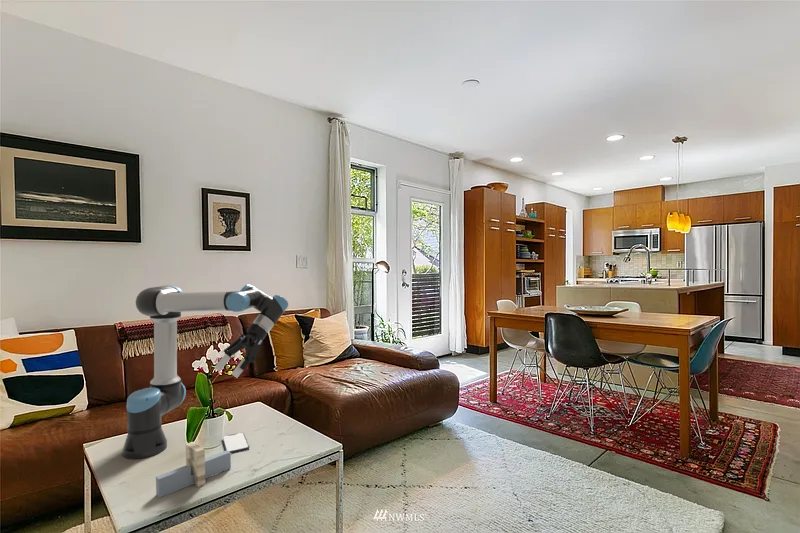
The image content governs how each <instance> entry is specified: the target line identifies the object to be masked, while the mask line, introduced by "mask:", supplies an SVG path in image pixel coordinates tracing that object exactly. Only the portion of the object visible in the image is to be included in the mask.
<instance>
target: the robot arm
mask: <svg viewBox="0 0 800 533" xmlns="http://www.w3.org/2000/svg"><path fill="white" fill-rule="evenodd" d="M135 307H136V309H137V311H138V312H139V313H140V314H141V315H144V316H148V317H149V319H150V320H152V321H153V344H154V345H153V362H154V363H153V378H152V379H151V380H150V381H149V387H145V388H142V389H138V390H134V391H133V392H132V393H131V394H129V396H128V397H127V399H126V406H125V407H126V408H125V410H126V422H127V424H126V426H127V435H126V438H125V442H124V445H123V448H122V456H123V457H124V458H125V459H129V460H130V459H131V460H132V459H133V460H134V459H135V460H136V459H143V458H144V457H145V458H149V457H151V456H155V455H156V454H159V453H161V452H163V451H164V450H166V449H167V447H168V440H167V437H166V435H165V432H164V430H163V428H162V427H163V426H162V417H163V416H164V415H166V414H167V413H169V412H171V411H173V410H175V409H176V408H177V407H179V406H180V405H182V403H183V402H184V400H185V398H186V394H187V389H186V386H185V385H184V384H183V382H182V379H181V377H180V376H179V375H178V373H177V372H178V320H179V319H180V318H181V317H182V313H183V312H184V313H186V312H187V313H189V312H224V311H225V312H234V313H239V312H240V313H241V312H244V311H245V310H248V309H252V308H253V309H255V310H256V311H258V312H259V314H258V315H257V317H256V318H255V319H253V322H252V323H251V324H250V325H249V326H248V328H246V332H247V334H246V335H244V334H241V335H240V336H239V337H238V338H237V339H236V340H234V341H233V342H232V343H231V344H230V345H228V346H227V347H225V349H224V350H223V352H224V355H223V356H222V357H221V359H220V360H218V362H217V363H216V365H214V369H215V370H217V371H218V372H219V373H220V372H221V371H222V369H224V367H225V366H226V365H227V363H228V362H229V361H230V360H231V359H232V357H233V355H235V354H237V353H238V352H239V351H241V350H242V349H243V350H244V349H246V350H245V354H244V355H245V356H244V357H243V358H242V359H241V361H240V362H239V363H238V364H237V366H236V367H235V369H233V371H232V372H231V375H232V376H234V378H236V379H238V377H240V375H241V374H242V372H243V371H244V370H245V369H246V367H247V366H248V364H251V363H255V361H256V359H257V356H258V354H259V351H260V349H261V347H262V345H263V343H264V341H263V340H264V339H265V338H266V336H268V333H270V331H271V330H273V327H274V326H275V325H276V323H277V322H278V321H279V320H280V318H281V317H282V316H283V314H284V313H285V311H286V310H287V309H288V307H289V301H288V300H287V299H286V298H285V297H284V296H282V295H280V294H274V296H271V295H269V294H266V292H264V291H262V290H260V289H259V288H258V287H256V286H254V285H251V284H250V283H248V284H245V285H244V286H243V287H241V289H240V290H237V291H201V292H194V291H193V292H184V291H183V290H182V289H181V288H180V287H178V286H176V285H160V286H154V287H148V288H145V289H142V291H140V292H139V293H138V294H137V296H136V297H135ZM145 458H144V459H145Z"/></svg>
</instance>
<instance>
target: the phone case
mask: <svg viewBox="0 0 800 533" xmlns="http://www.w3.org/2000/svg"><path fill="white" fill-rule="evenodd" d="M222 437H223V441H222V446H223V447H224V451H226V450H228V451H229V452H230V453H232V454H235V452H236V453H240V452H239V451H241V452H244V450H245V451H248V450H249V449H250V446H249V443H248V440H247V438H246V435H245V432H238V433H237V432H236V433H234V434H228V435H223V436H222Z"/></svg>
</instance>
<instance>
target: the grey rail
mask: <svg viewBox="0 0 800 533" xmlns="http://www.w3.org/2000/svg"><path fill="white" fill-rule="evenodd" d="M231 464H232V463H231V454H230V452H229V451H228V450H226V451H225V450H224V451H222V452H219V453H216V454H214V455H211V456H208V457H205V478H206V479H209V478H211V477H213V476H212V475H214V476H216V475H218V474H217V473H219V474H221V473H223V472H222V471H224V472H225V470H226V471H228V469H229V470H230V468H231V469H232V465H231ZM220 472H221V473H220ZM215 474H216V475H215ZM210 476H211V477H210ZM208 477H209V478H208ZM191 485H195V475H194V474H193V473H192V472H191V467H190V466H188V465H186V464H185V465H184V466H181V467H179V468H176V469H173V470H170V471H168V472H165V473H162V474H160V475H159V474H158V475H157V476H155V492H156V496H157V497H158V498H162V497H165V496H167V495H169V494H171V493H174V492H175V493H176V492H177V491H179V490H182V489H184V488H187V487H189V486H191Z"/></svg>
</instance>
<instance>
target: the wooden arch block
mask: <svg viewBox="0 0 800 533" xmlns="http://www.w3.org/2000/svg"><path fill="white" fill-rule="evenodd" d="M205 451H206V450H205V448H203V447H202V446H200V444H197V443H196V442H195V441H191V442H188V443H185V466H186V465H188V466H190V467H191V472H192V473H193V474H194V475H195V483H194V485H195V487H197V488H198V487H202V486H204V485H206V479H205V458H206V457H205V456H206V455H205V454H206V452H205ZM203 484H204V485H203ZM201 485H202V486H201Z"/></svg>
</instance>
